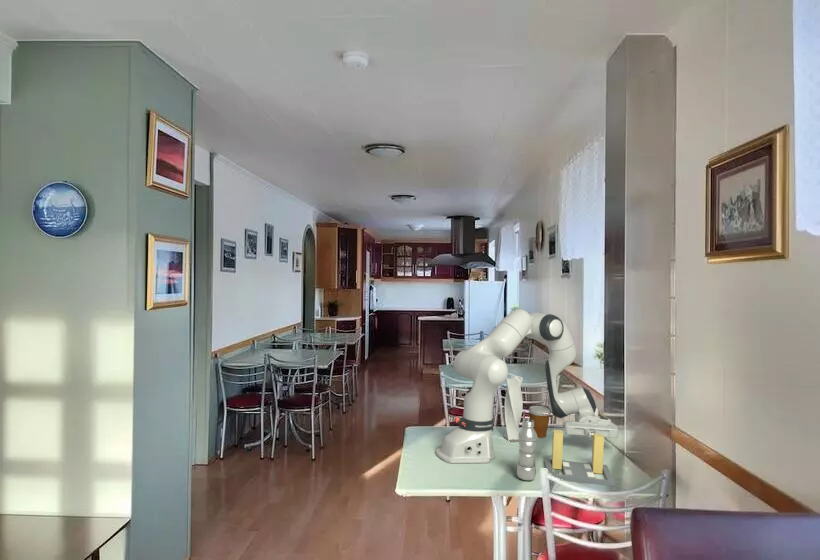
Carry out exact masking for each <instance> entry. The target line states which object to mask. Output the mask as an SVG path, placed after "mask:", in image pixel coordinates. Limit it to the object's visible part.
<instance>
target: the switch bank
mask: <svg viewBox="0 0 820 560" xmlns="http://www.w3.org/2000/svg"><path fill="white" fill-rule="evenodd" d="M591 464H592V462H591V463H590V462H580V461H574V460H573V461H572V460H563V459H562V469H561V470H562V473H563V474H559V473H558V474H557V473H554V471H553V469H552V458H544V467H546V468H547V469H548V471H549V473H551V474H552V475H553V476H555V477H558V478H560V479H563V480H567V481H566V482H572V483H573V482H574V483H581V484H582V483H585V484H593V485H600V486H610V487H615V486H616V481H615V478H614V477H613V475H612V473H611V471H610V469H609V466H608V465H607V464H603V472H602V474H603V477H604V479H603V478H596V475H595V473H593V470H592V468H591ZM563 480H562V481H563Z"/></svg>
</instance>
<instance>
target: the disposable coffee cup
mask: <svg viewBox="0 0 820 560" xmlns="http://www.w3.org/2000/svg"><path fill="white" fill-rule="evenodd" d="M527 411H528V413H529V419H530V420H533V421H534V427H533V428H534V430H535V432H536V434H537V437H538V438H539V439H544V438H546V437H547V432H548V427H549V421H550V415H551V414H552V413H551V411H550V408H549V407H547V406H544V405H532V406H529V408H528V410H527ZM543 413H548V414H549V415H543ZM538 438H537V439H538Z"/></svg>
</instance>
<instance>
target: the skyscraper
mask: <svg viewBox="0 0 820 560" xmlns="http://www.w3.org/2000/svg"><path fill="white" fill-rule="evenodd" d="M508 375H510V377H507V378H506V384H507V389H506V393H505V399H504V421H505V431H504V434H503V438H504V437H505V438H506V439H505V438H504V439H505V440H507V441H508V440H509V441H510V443H519V438H518V435H519V432H520V431H519V427H520V423H521V429H522V428H523V427H524V426H523V420H525V419H526V415H525V414H526V411H525V410H523V407H524V406H523V405H524V404H523V403H524V402H523V394H522V390H521V386H522V384H523V380H524V378H523V377H522V376H519V375H515V374H513V373H509V372H508ZM522 414H523V416H522ZM521 420H522V421H521ZM509 441H508V442H509Z"/></svg>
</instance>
